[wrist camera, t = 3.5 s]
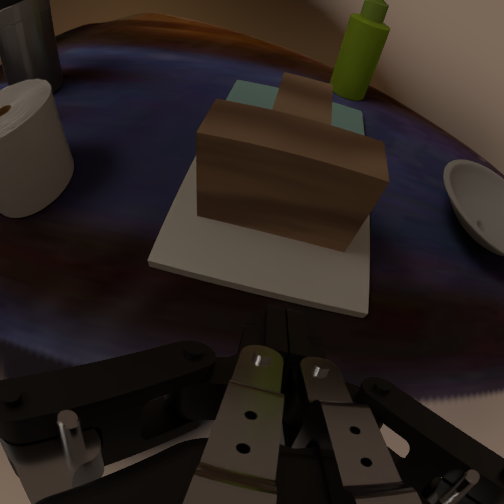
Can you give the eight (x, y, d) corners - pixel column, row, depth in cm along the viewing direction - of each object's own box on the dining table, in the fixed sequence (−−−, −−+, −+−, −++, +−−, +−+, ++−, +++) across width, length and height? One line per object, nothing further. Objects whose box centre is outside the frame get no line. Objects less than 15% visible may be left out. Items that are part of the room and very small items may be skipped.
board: (362, 318, 25) (367, 313, 24) (149, 266, 25) (147, 260, 25) (360, 116, 41) (362, 111, 40) (236, 85, 41) (237, 79, 40)
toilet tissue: (91, 174, 30) (68, 95, 21) (3, 246, 24) (-47, 177, 16) (52, 136, 32) (32, 70, 24) (-22, 193, 27) (-58, 132, 18)
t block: (344, 252, 27) (389, 182, 20) (197, 215, 27) (196, 132, 20) (346, 165, 33) (375, 99, 26) (230, 135, 33) (238, 63, 26)
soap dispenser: (337, 76, 47) (368, -26, 30) (370, 96, 45) (410, -8, 28) (316, 82, 45) (348, -30, 28) (351, 104, 43) (393, -13, 26)
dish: (503, 206, 37) (521, 185, 33) (528, 291, 29) (553, 272, 25) (414, 170, 37) (431, 142, 32) (433, 267, 29) (461, 240, 25)
